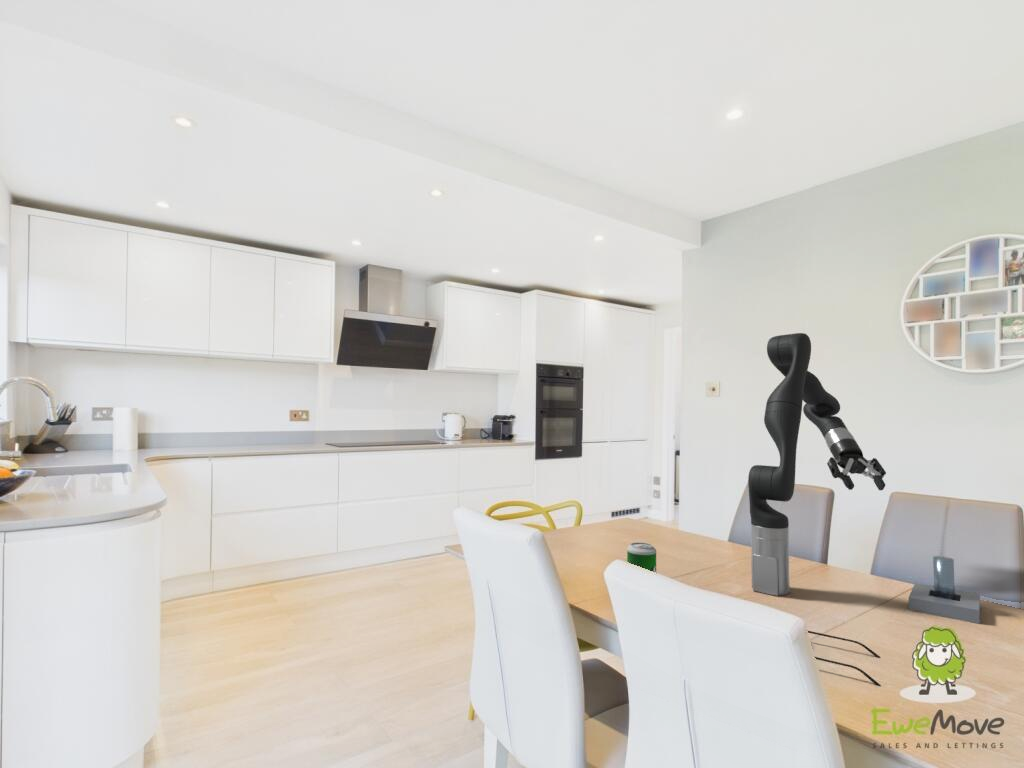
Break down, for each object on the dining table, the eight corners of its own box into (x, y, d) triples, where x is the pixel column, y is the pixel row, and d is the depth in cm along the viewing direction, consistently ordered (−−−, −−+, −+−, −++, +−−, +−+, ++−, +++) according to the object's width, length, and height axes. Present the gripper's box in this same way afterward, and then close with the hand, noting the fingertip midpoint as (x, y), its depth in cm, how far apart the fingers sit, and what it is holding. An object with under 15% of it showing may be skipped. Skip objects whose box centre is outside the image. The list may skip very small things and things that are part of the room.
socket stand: (979, 623, 123) (978, 610, 123) (909, 609, 131) (908, 597, 131) (980, 605, 135) (979, 593, 135) (915, 593, 143) (915, 582, 143)
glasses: (786, 638, 114) (786, 614, 114) (880, 659, 105) (880, 633, 105) (776, 663, 102) (775, 636, 103) (881, 689, 93) (880, 659, 93)
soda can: (651, 597, 138) (651, 549, 138) (623, 591, 142) (623, 545, 142) (659, 589, 144) (659, 544, 145) (632, 584, 148) (632, 540, 149)
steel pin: (955, 611, 130) (953, 561, 131) (934, 607, 133) (932, 558, 134) (955, 607, 133) (953, 558, 134) (935, 603, 136) (933, 555, 137)
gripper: (823, 437, 163) (847, 479, 151) (871, 437, 163) (898, 480, 150) (814, 453, 168) (836, 495, 156) (861, 454, 168) (886, 496, 155)
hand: (867, 488), depth 153 cm, fingers open, 8 cm apart
